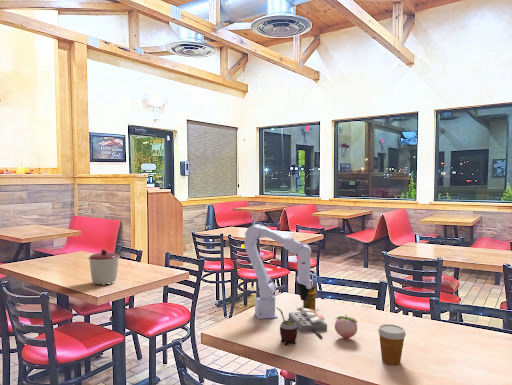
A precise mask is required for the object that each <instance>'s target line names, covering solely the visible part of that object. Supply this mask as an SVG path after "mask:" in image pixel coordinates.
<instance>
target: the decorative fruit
mask: <svg viewBox="0 0 512 385" xmlns="http://www.w3.org/2000/svg"><path fill="white" fill-rule="evenodd" d="M334 320H336V321H335V323H334V330H335V331H336V334H338V335H339V336H340V337H342V338H343V339H345V340H346V339H350V338H352V337H354V336H356V334H357V332H358V324H357V323H358V321H357V320H356V319H355V318H354V317H350V316H347V314H345V316H343V315H339V316H337V317H336V318H335V319H334Z"/></svg>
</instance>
